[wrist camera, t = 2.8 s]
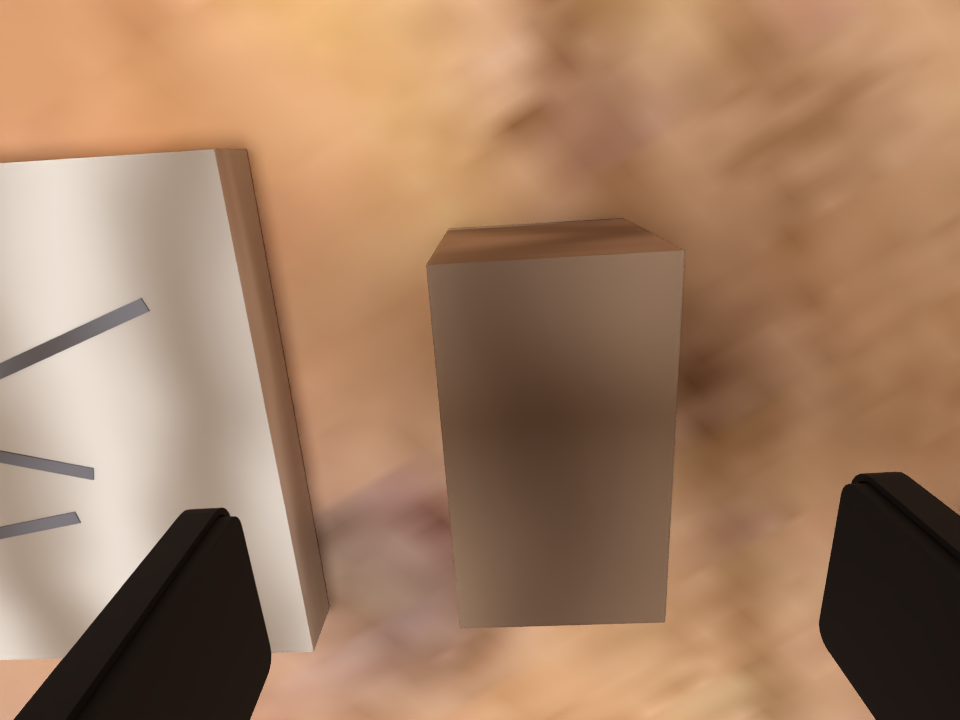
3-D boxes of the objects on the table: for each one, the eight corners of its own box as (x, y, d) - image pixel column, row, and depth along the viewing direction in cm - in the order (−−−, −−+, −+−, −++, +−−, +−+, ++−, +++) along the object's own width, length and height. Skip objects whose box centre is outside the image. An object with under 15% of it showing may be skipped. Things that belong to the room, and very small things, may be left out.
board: (246, 149, 16) (213, 148, 15) (329, 608, 22) (313, 653, 20) (-290, 184, 17) (-390, 188, 15) (-85, 620, 22) (-139, 664, 21)
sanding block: (621, 217, 17) (684, 250, 11) (617, 489, 20) (665, 622, 14) (449, 228, 17) (426, 265, 12) (470, 494, 20) (459, 628, 14)
